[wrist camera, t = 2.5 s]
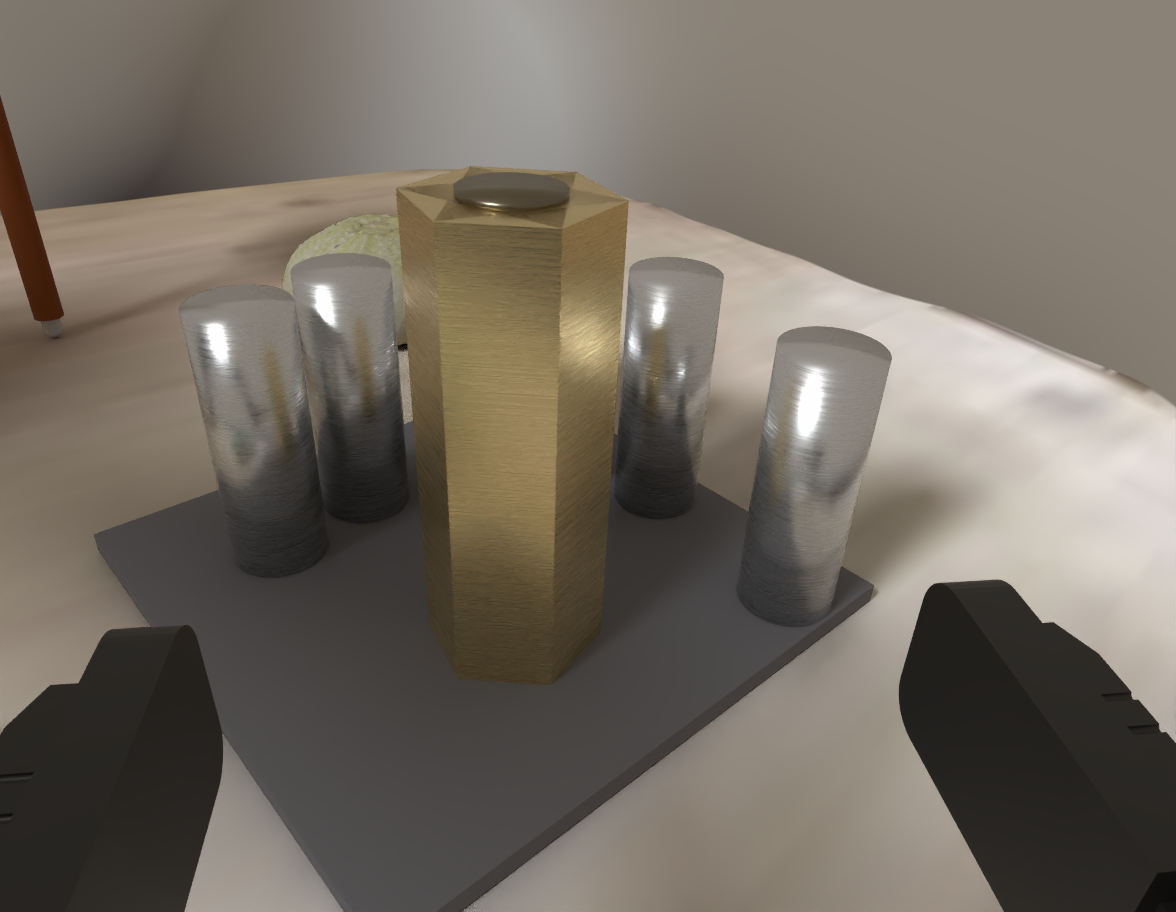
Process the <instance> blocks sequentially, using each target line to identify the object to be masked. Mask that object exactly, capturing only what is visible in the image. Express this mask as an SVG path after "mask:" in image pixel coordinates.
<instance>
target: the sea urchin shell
mask: <svg viewBox="0 0 1176 912" xmlns="http://www.w3.org/2000/svg"><path fill="white" fill-rule="evenodd" d="M335 253H358V254H367V255H372V256H376V257H379V258H381V259H384V260H385V261H387V262H388V263H389V264H390V265H391V272H392V285H393V297H394V309H395V322H396V334H397V346H398V345H401V344H407V331H406V317H405V304H404V290H403V277H402V263H401V250H400V236H399V222H398V217H392V216H389V215H386V214H383V215H376V214H367V215H361V216H358V217H349V218H348V219H347V220H343V221H342V222H338V223H337V224H333V225H331V226H329V227H328V228H324V231H321V232H319V233H316V234H315V235H314V236H311V237H310V238H309V239H308V240H305V241H304V243H303V244H300V245H299V247H298V248H297V249H296V250H295V252H294V254H292V255H291V258H290V260H289V263H288V264H287V265H286V270H285V273H284V278H283V279H282V282H283V285H282V290H285V291H287V292H289V293H290V294H291V295H292V296H293V298H294V295H293V288H292V281H291V274H290V271H291V269H292V267H293V266H294V265H296V264H297V263H299V262H301V261H303V260H306V259H308V258H312V257H316V256H320V255H326V254H335ZM294 303H295V302H294ZM295 310H296V309H295ZM296 317H297V315H296Z"/></svg>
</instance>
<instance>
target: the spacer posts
mask: <svg viewBox="0 0 1176 912" xmlns="http://www.w3.org/2000/svg"><path fill="white" fill-rule="evenodd" d="M290 274H291V281H292V288H293V295H294V298H293V296H292V295H291V294H290V293H289V292H287V291H285V290H282V289H280V288H276V287H272V286H265V285H233V286H225V287H219V288H215V289H211V290H207V291H204V292H201V293H198V294H196V295H194V296H192V297H190V298H188V299H187V300H186V301H184V302H183V303H182V305H181V306H180V309H179V310H180V316H181V320H182V325H183V329H184V334H185V339H186V343H187V348H188V352H189V357H190V362H191V366H192V371H193V375H194V380H195V385H196V389H197V394H198V398H199V403H200V407H201V412H202V417H203V421H204V426H205V430H206V435H207V440H208V444H209V449H210V453H211V458H212V463H213V467H214V472H215V476H216V481H217V486H218V490H219V495H220V499H221V504H222V508H223V513H224V518H225V522H226V527H227V531H228V536H229V541H230V545H231V550H232V554H233V559H234V562H235V564H236V566H237V567H238V568H239V569H240V570H241V571H243V572H244V573H247V574H249V575H252V576H256V577H261V578H280V577H286V576H291V575H294V574H297V573H300V572H303V571H305V570H307V569H309V568H310V567H312V566H314V565H315V564H316V563H318V562H319V561H320V560H321V559H322V558H323V557H324V555H325V554H326V552H327V550H328V547H329V539H328V533H327V526H326V519H325V512H324V508H325V510H326V511H327V513H328V514H329V515H331V516H332V517H334V518H335V519H338V520H340V521H344V522H349V523H372V522H377V521H381V520H385V519H387V518H390V517H392V516H394V515H396V514H397V513H399V512H400V511H401V510H402V509H403V508H404V507H405V506H406V505H407V503H408V501H409V483H408V471H407V458H406V446H405V434H404V421H403V409H402V396H401V384H400V372H399V359H398V347H397V334H396V322H395V309H394V297H393V285H392V272H391V265H390V264H389V263H388V262H387V261H385V260H384V259H381V258H379V257H376V256H372V255H367V254H358V253H335V254H326V255H320V256H316V257H312V258H308V259H306V260H303V261H301V262H299V263H297V264H296V265H294V266H293V267H292V269H291V271H290ZM723 279H724V276H723V273H722V272H721V271H720V270H719V269H717V268H716V267H714V266H712V265H710V264H707V263H704V262H701V261H697V260H693V259H687V258H678V257H657V258H650V259H645V260H641V261H638V262H636V263H634V264H633V265H632V266H631V267H630V269H629V281H628V296H627V311H626V326H625V341H624V355H623V370H622V385H621V400H620V415H619V429H618V444H617V459H616V474H615V489H614V496H615V499H616V501H617V503H618V504H619V505H620V506H621V507H622V508H623V509H625V510H626V511H628V512H630V513H632V514H634V515H637V516H640V517H643V518H649V519H671V518H675V517H679V516H681V515H684V514H685V513H687V512H688V511H690V510H691V509H692V507H693V506H694V504H695V500H696V492H697V484H698V476H699V469H700V461H701V453H702V445H703V437H704V429H705V421H706V413H707V405H708V398H709V390H710V382H711V374H712V366H713V358H714V350H715V342H716V334H717V327H718V319H719V311H720V303H721V295H722V287H723ZM294 302H295V303H294ZM295 309H296V310H295ZM296 315H297V317H296ZM297 322H298V324H297ZM298 329H299V331H298ZM299 336H300V338H299ZM300 343H301V345H300ZM301 350H302V352H301ZM302 357H303V359H302ZM891 360H892V356H891V353H890V352H889V350H888V349H887V348H886V347H885V346H884V345H883V344H881V343H880V342H878V341H877V340H875V339H873V338H871V337H868V336H866V335H863V334H860V333H857V332H854V331H850V330H845V329H840V328H833V327H820V326H814V327H801V328H796V329H792V330H789V331H787V332H785V333H783V334H782V335H781V336H780V337H779V338H778V340H777V346H776V352H775V358H774V364H773V370H772V376H771V382H770V388H769V394H768V400H767V406H766V412H765V418H764V424H763V430H762V436H761V442H760V448H759V454H758V460H757V466H756V472H755V478H754V484H753V490H752V496H751V502H750V508H749V514H748V520H747V526H746V532H745V538H744V544H743V550H742V556H741V562H740V568H739V574H738V580H737V586H736V592H737V596H738V598H739V600H740V602H741V603H742V605H743V606H744V607H745V608H746V609H747V610H748V611H749V612H750V613H752V614H753V615H755V616H756V617H758V618H760V619H762V620H764V621H766V622H769V623H772V624H775V625H779V626H785V627H804V626H809V625H813V624H815V623H818V622H820V621H821V620H823V619H824V618H825V617H826V616H827V615H828V613H829V612H830V609H831V605H832V601H833V597H834V593H835V589H836V585H837V581H838V577H839V573H840V568H841V564H842V560H843V556H844V552H845V548H846V544H847V540H848V536H849V532H850V528H851V523H852V519H853V515H854V511H855V507H856V503H857V499H858V495H859V491H860V487H861V482H862V478H863V474H864V470H865V466H866V462H867V458H868V454H869V450H870V446H871V442H872V437H873V433H874V429H875V425H876V421H877V417H878V413H879V409H880V405H881V401H882V396H883V392H884V388H885V384H886V380H887V376H888V372H889V368H890V364H891ZM303 364H304V366H303ZM304 371H305V372H304ZM305 378H306V379H305ZM306 385H307V386H306ZM307 392H308V393H307ZM308 399H309V400H308ZM309 406H310V407H309ZM310 413H311V414H310ZM311 420H312V421H311ZM312 427H313V428H312ZM313 434H314V435H313ZM314 441H315V442H314ZM315 448H316V449H315ZM316 455H317V456H316ZM317 462H318V463H317ZM318 469H319V470H318ZM319 476H320V477H319ZM320 483H321V484H320ZM321 490H322V491H321ZM322 497H323V498H322ZM323 504H324V505H323Z"/></svg>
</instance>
